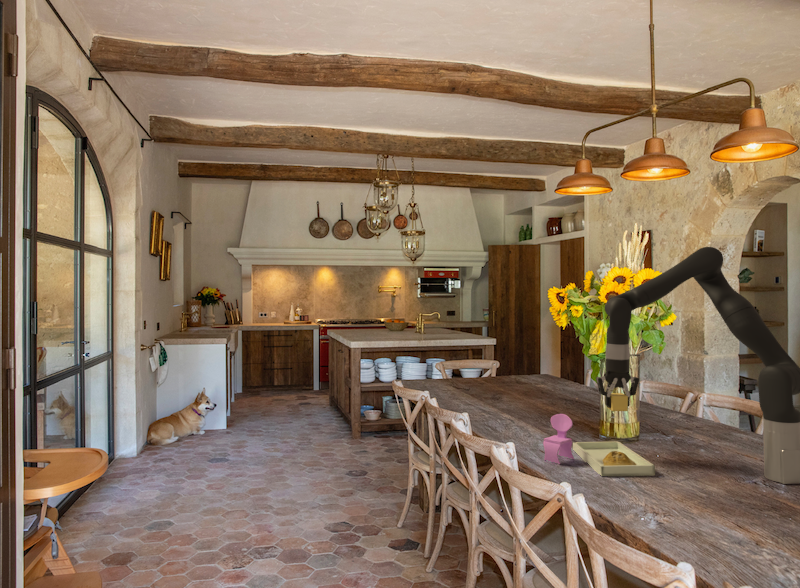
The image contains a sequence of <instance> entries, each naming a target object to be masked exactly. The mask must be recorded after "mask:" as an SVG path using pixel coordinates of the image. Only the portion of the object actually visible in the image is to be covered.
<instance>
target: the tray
mask: <svg viewBox="0 0 800 588" xmlns="http://www.w3.org/2000/svg"><path fill="white" fill-rule="evenodd" d="M573 450H574V451H575V452H576V453H577V454H578V455H579V456H580V457H581V458H582V459H581V458H580V457H579V456H578V455H577V454H576V453H575V452H574V451H573ZM572 451H573V452H574V453H575V454H576V455H577V456H578V457H579V458H580V459H581V460H582V461H583V462H585V463H586V462H587V463H588V464H589V465H590V466H591V467H592V468H591V467H590V466H589V465H588V464H587V463H586V464H587V465H588V466H589V467H590V468H591V469H592V470H594V471H595V472H596V473H597V474H598V475H599V474H600V475H601V476H608V477H651V476H652V477H653V476H656V466H655V465H654V464H653V463H652V462H650V461H648V460H647V459H645V458H644V457H642V456H641V455H639V454H638V453H637V452H635V451H633V449H631V448H629V447H627V446H626V445H625V444H623V443H622V442H620V441H617V440H616V441H614V440H613V441H572ZM612 451H617V452H622V453H624V454H626V455H627V456H628V458H629V459H630V460H632V461H633V462H635V463H636V465H617V466H604V465H603V464H604V463H603V461H602V460H603V459H604V458H605V457H606V456H607V455H608V454H609V453H610V452H612ZM600 475H599V476H600ZM601 476H600V477H601Z"/></svg>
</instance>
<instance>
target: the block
mask: <svg viewBox="0 0 800 588" xmlns="http://www.w3.org/2000/svg"><path fill="white" fill-rule="evenodd" d="M610 397H611V408H608V407H607V406H606V408H607V409H608V410H610V411H611V412H628V411H629V409H628V408H629V406H628V396H627V395H625V394H624V393H623V392H616V393H615V392H612V393H611V396H610Z"/></svg>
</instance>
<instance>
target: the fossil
mask: <svg viewBox="0 0 800 588" xmlns="http://www.w3.org/2000/svg"><path fill="white" fill-rule="evenodd" d="M602 461H603V463H604V464H603V465H604V466H617V465H636V463H635V462H633V461H632V460H630V459H629V458H628V456H627V455H626V454H624V453H622V452H617V451H612V452H610V453H609V454H608V455H607V456H606V457H605V458H604V459H603V460H602Z"/></svg>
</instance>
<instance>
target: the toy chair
mask: <svg viewBox="0 0 800 588" xmlns="http://www.w3.org/2000/svg"><path fill="white" fill-rule="evenodd" d="M550 424H551V427H552V428H553V429H554V430H555V431H557V434H554V435H551V436H549V437H545V438H543V442H542V445H543V450H544V459H543V461H544V460H548V461H551V462H555V463H558V464H561V462H560V460H559V456H558V455H560V456H564V457H568V458H572V459H575V457H574V455H573V453H572V447H573V439H572V438H570V437H567V432H569V430H570V429H572V427H573V420H572V419H571V418H570V417H569V416H568V415H567V414H565V413H556V414H554V415H551V417H550ZM558 464H557V465H558Z"/></svg>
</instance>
